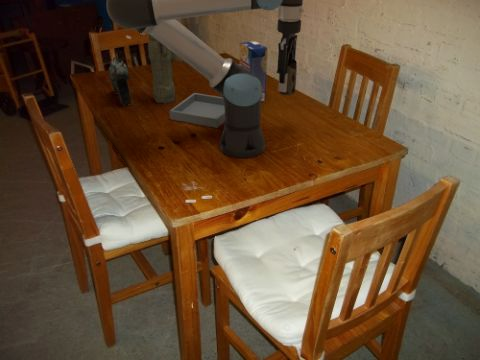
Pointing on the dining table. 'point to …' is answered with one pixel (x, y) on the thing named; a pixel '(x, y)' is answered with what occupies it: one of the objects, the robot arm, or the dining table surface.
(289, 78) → the mug
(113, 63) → the ceramic cat
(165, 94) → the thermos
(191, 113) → the box
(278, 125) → the dining table surface
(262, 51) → the beverage box
